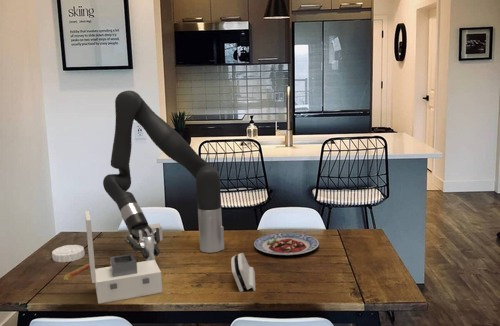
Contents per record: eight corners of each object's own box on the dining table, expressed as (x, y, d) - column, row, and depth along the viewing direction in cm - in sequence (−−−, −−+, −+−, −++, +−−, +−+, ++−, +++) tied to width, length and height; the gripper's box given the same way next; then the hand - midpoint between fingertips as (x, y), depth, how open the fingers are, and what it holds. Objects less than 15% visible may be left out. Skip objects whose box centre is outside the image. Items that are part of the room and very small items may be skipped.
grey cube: (159, 236, 221) (159, 223, 220) (162, 240, 215) (161, 227, 214) (146, 238, 219) (145, 225, 218) (148, 242, 213) (147, 228, 212)
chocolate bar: (63, 280, 177) (62, 274, 176) (86, 268, 187) (86, 262, 187) (68, 281, 176) (68, 275, 175) (92, 269, 186) (91, 263, 186)
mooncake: (53, 254, 203) (52, 246, 202) (84, 250, 206) (83, 242, 206) (51, 264, 192) (50, 255, 191) (84, 260, 195) (84, 251, 195)
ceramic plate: (332, 249, 198) (332, 242, 198) (280, 264, 184) (280, 257, 184) (291, 233, 219) (291, 227, 219) (241, 246, 205) (241, 239, 205)
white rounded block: (255, 291, 162) (243, 263, 160) (241, 296, 162) (230, 269, 160) (254, 271, 178) (244, 246, 176) (242, 276, 178) (231, 251, 177)
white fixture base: (155, 278, 174) (150, 203, 169) (162, 293, 162) (157, 212, 158) (91, 289, 167) (84, 210, 162) (94, 305, 155) (86, 220, 151)
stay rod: (154, 265, 187) (152, 234, 184) (156, 268, 183) (154, 237, 181) (145, 267, 185) (142, 235, 183) (146, 270, 182) (144, 238, 180)
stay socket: (134, 265, 168) (133, 253, 168) (137, 273, 161) (136, 261, 161) (110, 268, 166) (109, 257, 165) (112, 277, 159) (112, 265, 158)
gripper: (119, 216, 182) (138, 256, 175) (153, 208, 191) (173, 246, 184) (113, 227, 187) (132, 266, 180) (147, 219, 196) (166, 256, 189)
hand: (152, 256), depth 182 cm, fingers closed on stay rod, 3 cm apart
